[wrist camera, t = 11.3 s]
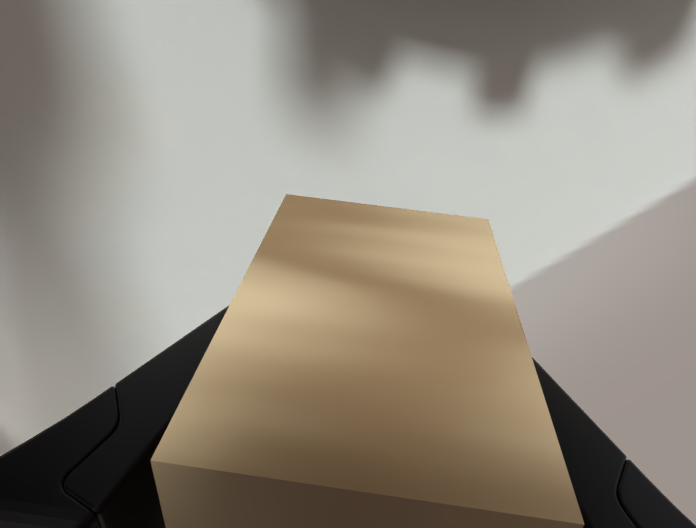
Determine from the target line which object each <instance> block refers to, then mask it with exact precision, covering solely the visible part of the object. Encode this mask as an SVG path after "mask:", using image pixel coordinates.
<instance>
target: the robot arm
mask: <svg viewBox="0 0 696 528" xmlns="http://www.w3.org/2000/svg"><path fill="white" fill-rule="evenodd" d="M229 306H230V305H229ZM229 306H227V307H226V308H225V309H223V310H222V311H220V312H219V313H217V314H216V315H214V316H213V317H212V318H210V319H209V320H207V321H206V322H204V323H203V324H201V325H200V326H199V327H197V328H196V329H194V330H193V331H191V332H190V333H189V334H187V335H186V336H184V337H183V338H181V339H180V340H178V341H177V342H176V343H174V344H173V345H171V346H170V347H168V348H167V349H165V350H164V351H163V352H161V353H160V354H158V355H157V356H155V357H154V358H152V359H151V360H150V361H148V362H147V363H145V364H144V365H142V366H141V367H139V368H138V369H137V370H135V371H134V372H132V373H131V374H129V375H128V376H126V377H125V378H124V379H122V380H121V381H119V382H118V383H116V385H115V387H116V388H115V387H110V388H109V389H107V390H106V391H104V392H103V393H102V394H100V395H99V396H97V397H96V398H94V399H93V400H91V401H90V402H88V403H87V404H85V405H84V406H82V407H81V408H79V409H78V410H76V411H75V412H73V413H72V414H70V415H69V416H67V417H66V418H64V419H62V420H61V421H59V422H57V423H56V424H54V425H52V426H51V427H49V428H48V429H46V430H44V431H43V432H41V433H39V434H38V435H36V436H34V437H33V438H31V439H29V440H28V441H26V442H24V443H22V444H21V445H19V446H17V447H15V448H14V449H12V450H10V451H9V452H7V453H5V454H3V455H2V456H0V528H166V527H165V522H164V518H163V514H162V509H161V505H160V501H159V496H158V492H157V487H156V483H155V479H154V474H153V470H152V465H151V461H150V460H151V458H152V456H153V454H154V452H155V450H156V448H157V446H158V445H159V443H160V441H161V439H162V437H163V435H164V433H165V431H166V429H167V427H168V425H169V423H170V421H171V419H172V417H173V415H174V413H175V411H176V409H177V407H178V405H179V403H180V401H181V400H182V398H183V396H184V394H185V392H186V390H187V388H188V386H189V384H190V382H191V380H192V378H193V376H194V374H195V372H196V370H197V368H198V366H199V364H200V362H201V360H202V358H203V356H204V354H205V353H206V351H207V349H208V347H209V345H210V343H211V341H212V339H213V337H214V335H215V333H216V331H217V329H218V327H219V325H220V323H221V321H222V319H223V317H224V315H225V313H226V311H227V309H228V307H229ZM532 360H533V363H534V366H535V369H536V372H537V375H538V379H539V382H540V385H541V388H542V391H543V394H544V398H545V401H546V404H547V407H548V410H549V413H550V417H551V420H552V423H553V426H554V429H555V432H556V436H557V439H558V442H559V445H560V448H561V451H562V455H563V458H564V461H565V464H566V467H567V470H568V474H569V477H570V480H571V483H572V486H573V489H574V493H575V496H576V499H577V502H578V505H579V508H580V512H581V515H582V518H583V521H584V524H585V525H584V526H583V528H696V526H695V525H694V524H693V523H692V522H691V521H690V520H689V519H688V518H687V517H686V516H685V515H684V514H683V513H682V512H681V511H680V510H679V509H677V508H676V507H675V506H674V505H673V504H672V503H671V502H670V501H669V500H668V499H667V498H666V497H665V496H664V495H663V494H662V493H661V492H660V490H658V489H657V488H656V486H655V485H653V483H652V482H651V481H650V480H649V479H648V478H647V477H646V476H645V475H644V474H643V473H642V472H641V471H640V470H639V469H638V468H637V467H636V466H635V465H634V464H633V463H632V462H631V461H630V460H626V456H625V454H624V453H623V452H622V451H621V450H620V449H619V448H618V447H617V446H616V445H615V444H614V443H613V442H612V441H611V440H610V439H609V437H608V436H607V435H606V434H605V433H604V432H603V431H602V430H601V429H600V428H599V427H598V426H597V425H596V424H595V423H594V422H593V421H592V420H591V419H590V418H589V416H588V415H587V414H586V413H585V412H584V411H583V410H582V409H581V408H580V407H579V406H578V405H577V404H576V403H575V402H574V401H573V400H572V399H571V397H570V396H569V395H568V394H567V393H566V392H565V391H564V390H563V389H562V388H561V387H560V386H559V385H558V384H557V383H556V382H555V381H554V380H553V379H552V377H551V376H550V375H549V374H548V373H547V372H546V371H545V370H544V369H543V368H542V367H541V366H540V365H539V364H538V363H537V362H536V361H535V360H534V359H533V358H532Z"/></svg>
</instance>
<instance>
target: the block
mask: <svg viewBox="0 0 696 528" xmlns="http://www.w3.org/2000/svg"><path fill="white" fill-rule="evenodd" d="M150 461H151V465H152V470H153V474H154V479H155V483H156V487H157V492H158V496H159V501H160V505H161V509H162V514H163V518H164V522H165V527H166V528H583V526H584V525H585V524H584V521H583V518H582V515H581V512H580V508H579V505H578V502H577V499H576V496H575V493H574V489H573V486H572V483H571V480H570V477H569V474H568V470H567V467H566V464H565V461H564V458H563V455H562V451H561V448H560V445H559V442H558V439H557V436H556V432H555V429H554V426H553V423H552V420H551V417H550V413H549V410H548V407H547V404H546V401H545V398H544V394H543V391H542V388H541V385H540V382H539V379H538V375H537V372H536V369H535V366H534V363H533V360H532V356H531V354H530V350H529V347H528V344H527V341H526V338H525V334H524V331H523V328H522V325H521V322H520V319H519V316H518V312H517V309H516V306H515V303H514V300H513V296H512V293H511V290H510V287H509V284H508V281H507V277H506V274H505V271H504V268H503V265H502V262H501V258H500V255H499V252H498V249H497V246H496V243H495V239H494V236H493V233H492V230H491V227H490V224H489V220H488V219H481V218H473V217H465V216H457V215H449V214H441V213H433V212H425V211H417V210H409V209H401V208H392V207H384V206H376V205H368V204H360V203H352V202H344V201H336V200H328V199H320V198H312V197H303V196H295V195H287V194H286V196H285V198H284V200H283V202H282V204H281V206H280V208H279V210H278V212H277V214H276V215H275V217H274V219H273V221H272V223H271V225H270V227H269V229H268V231H267V233H266V235H265V237H264V239H263V241H262V243H261V245H260V247H259V249H258V251H257V253H256V255H255V257H254V259H253V261H252V262H251V264H250V266H249V268H248V270H247V272H246V274H245V276H244V278H243V280H242V282H241V284H240V286H239V288H238V290H237V292H236V294H235V296H234V298H233V300H232V302H231V304H230V306H229V307H228V309H227V311H226V313H225V315H224V317H223V319H222V321H221V323H220V325H219V327H218V329H217V331H216V333H215V335H214V337H213V339H212V341H211V343H210V345H209V347H208V349H207V351H206V353H205V354H204V356H203V358H202V360H201V362H200V364H199V366H198V368H197V370H196V372H195V374H194V376H193V378H192V380H191V382H190V384H189V386H188V388H187V390H186V392H185V394H184V396H183V398H182V400H181V401H180V403H179V405H178V407H177V409H176V411H175V413H174V415H173V417H172V419H171V421H170V423H169V425H168V427H167V429H166V431H165V433H164V435H163V437H162V439H161V441H160V443H159V445H158V446H157V448H156V450H155V452H154V454H153V456H152V458H151V460H150Z"/></svg>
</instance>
